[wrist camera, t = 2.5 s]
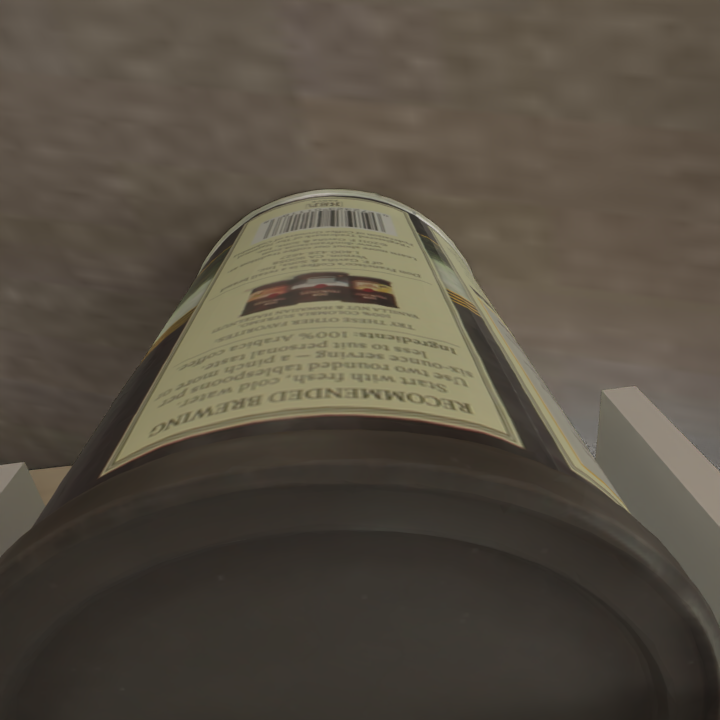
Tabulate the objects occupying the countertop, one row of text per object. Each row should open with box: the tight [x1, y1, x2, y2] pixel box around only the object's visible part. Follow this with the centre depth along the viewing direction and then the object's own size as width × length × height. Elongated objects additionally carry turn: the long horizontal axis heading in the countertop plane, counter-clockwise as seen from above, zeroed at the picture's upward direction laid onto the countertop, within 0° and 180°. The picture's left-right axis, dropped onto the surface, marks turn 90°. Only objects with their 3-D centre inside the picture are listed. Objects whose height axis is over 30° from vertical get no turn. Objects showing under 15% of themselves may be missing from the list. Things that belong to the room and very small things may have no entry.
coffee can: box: [0, 189, 720, 720], centre depth 14 cm, size 10×10×14 cm
